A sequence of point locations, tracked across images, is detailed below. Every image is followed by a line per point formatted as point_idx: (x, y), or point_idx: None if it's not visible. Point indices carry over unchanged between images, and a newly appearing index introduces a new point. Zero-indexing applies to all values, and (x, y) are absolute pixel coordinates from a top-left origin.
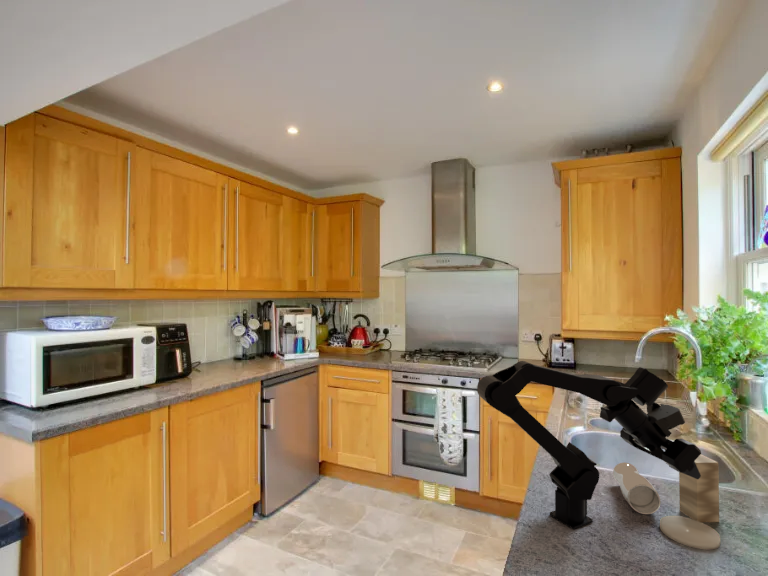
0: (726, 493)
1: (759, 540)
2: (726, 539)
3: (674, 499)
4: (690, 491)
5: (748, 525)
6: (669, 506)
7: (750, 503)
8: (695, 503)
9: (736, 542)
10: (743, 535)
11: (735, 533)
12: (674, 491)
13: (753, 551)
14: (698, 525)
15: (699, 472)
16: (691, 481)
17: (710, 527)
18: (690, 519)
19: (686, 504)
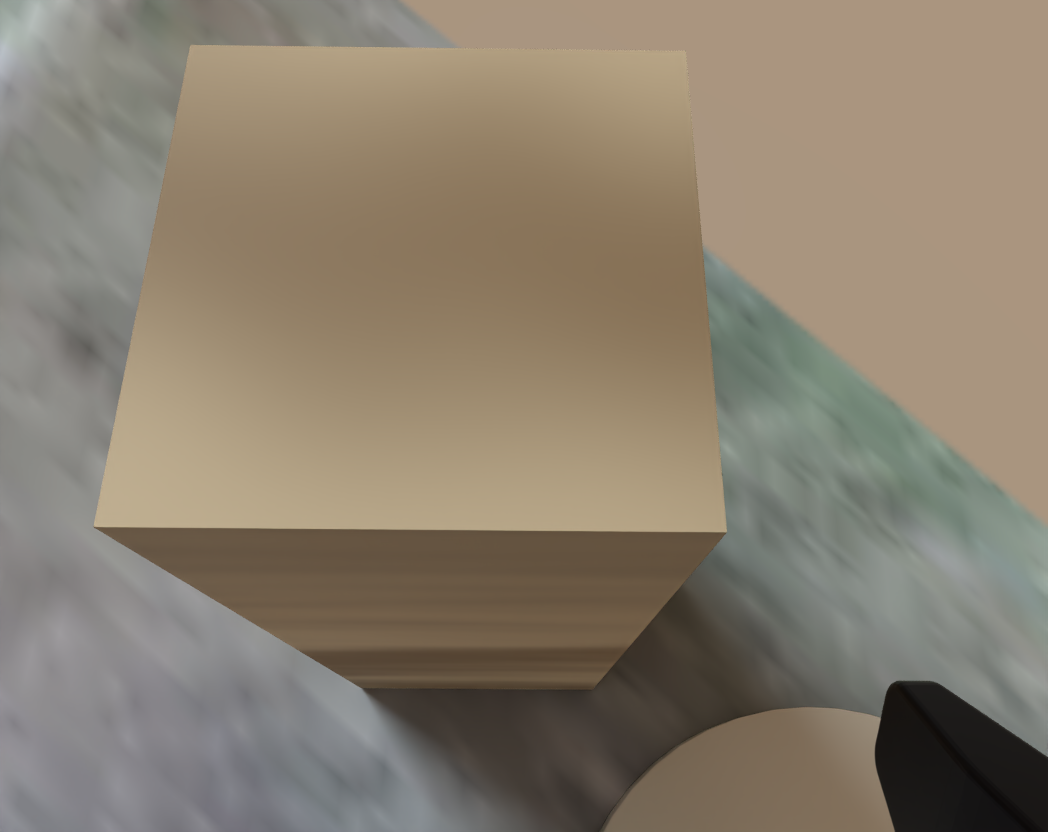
0: (157, 48)
1: (856, 384)
2: (870, 647)
3: (150, 564)
4: (509, 652)
5: None
6: (269, 737)
7: (330, 15)
8: (587, 668)
9: (909, 596)
10: (792, 445)
11: (766, 485)
12: (8, 436)
13: (1030, 568)
14: (768, 818)
15: (1029, 745)
16: (534, 629)
17: (797, 712)
18: (649, 808)
19: (448, 677)
